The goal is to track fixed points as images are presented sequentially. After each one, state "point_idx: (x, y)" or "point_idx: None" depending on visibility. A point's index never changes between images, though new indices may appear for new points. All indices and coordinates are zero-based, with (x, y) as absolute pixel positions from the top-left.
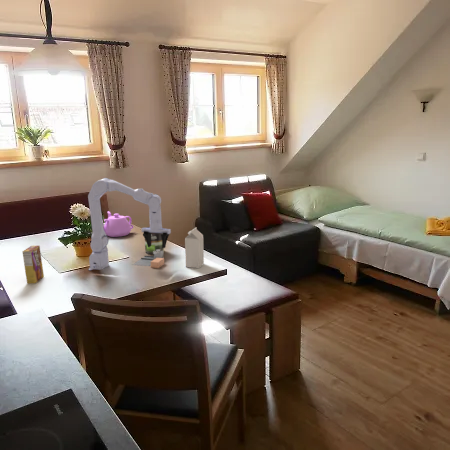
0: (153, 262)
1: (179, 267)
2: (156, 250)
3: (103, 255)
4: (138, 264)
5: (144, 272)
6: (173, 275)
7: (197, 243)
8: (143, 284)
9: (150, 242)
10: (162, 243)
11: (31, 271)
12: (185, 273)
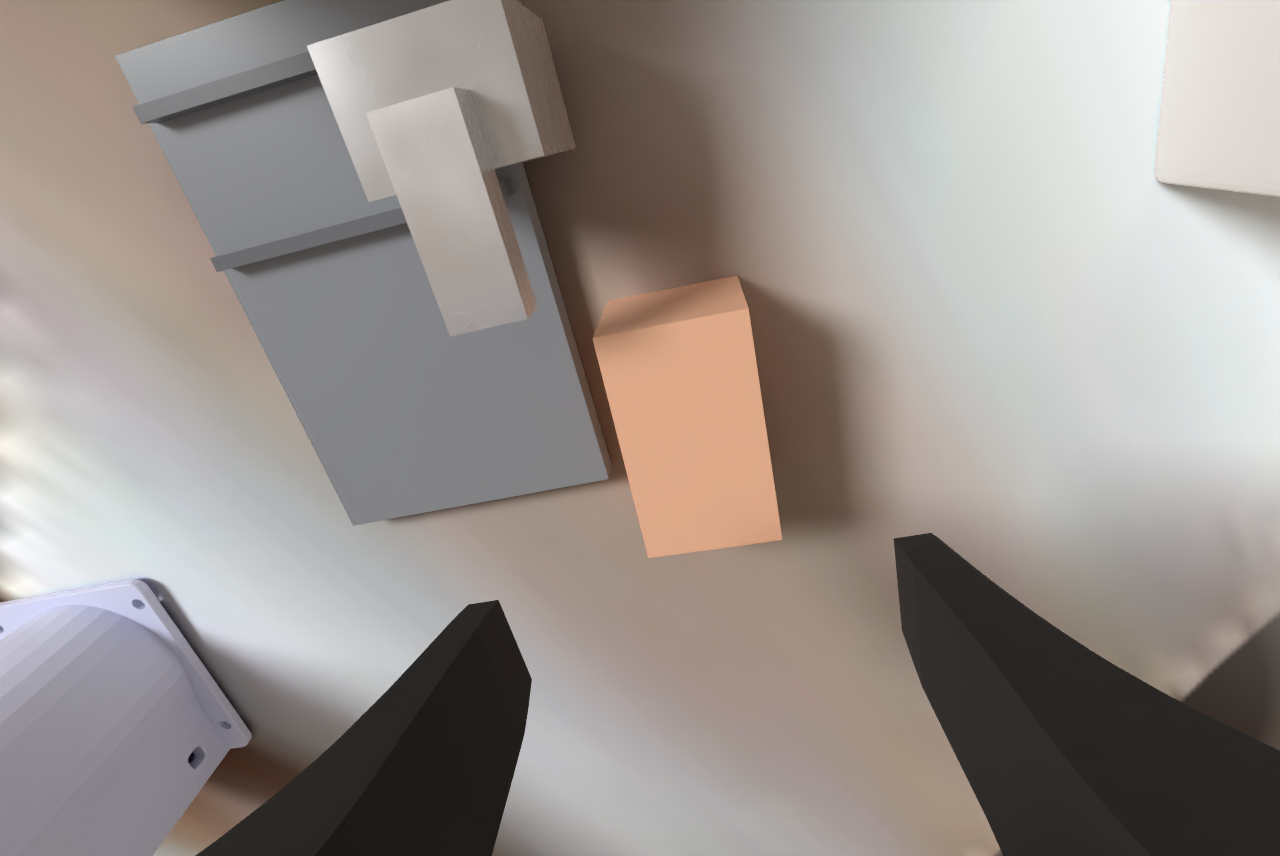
0: (698, 546)
1: (1033, 241)
2: (448, 225)
3: (65, 853)
4: (417, 488)
5: (656, 603)
6: (1070, 552)
7: None
8: (860, 822)
9: (468, 696)
10: (977, 779)
11: None
12: (1227, 430)
